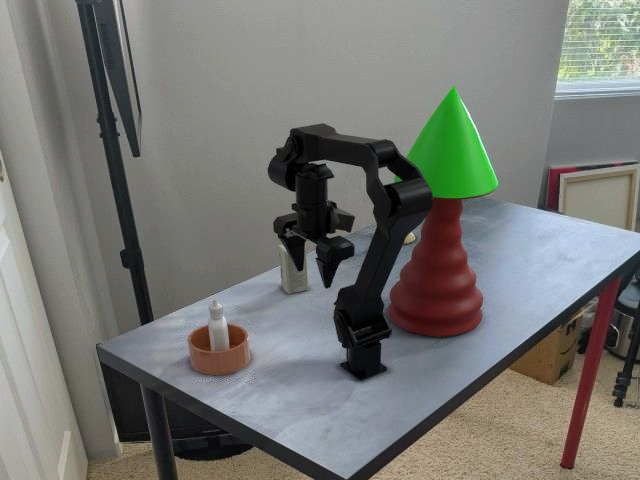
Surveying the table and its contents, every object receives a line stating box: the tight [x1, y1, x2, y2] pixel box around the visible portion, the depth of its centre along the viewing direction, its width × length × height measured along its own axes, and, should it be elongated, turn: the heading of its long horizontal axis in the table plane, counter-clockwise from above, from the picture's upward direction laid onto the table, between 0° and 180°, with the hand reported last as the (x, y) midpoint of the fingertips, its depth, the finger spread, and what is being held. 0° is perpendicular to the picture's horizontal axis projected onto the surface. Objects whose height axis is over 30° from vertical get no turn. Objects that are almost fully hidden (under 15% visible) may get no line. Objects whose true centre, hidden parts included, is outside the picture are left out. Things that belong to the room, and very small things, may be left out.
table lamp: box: [387, 85, 499, 338], centre depth 140 cm, size 20×20×45 cm
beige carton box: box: [278, 243, 309, 295], centre depth 160 cm, size 5×4×10 cm
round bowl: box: [187, 322, 251, 376], centre depth 136 cm, size 11×11×5 cm
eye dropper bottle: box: [207, 298, 230, 351], centre depth 134 cm, size 4×6×12 cm
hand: (313, 279), depth 139 cm, fingers open, 9 cm apart
